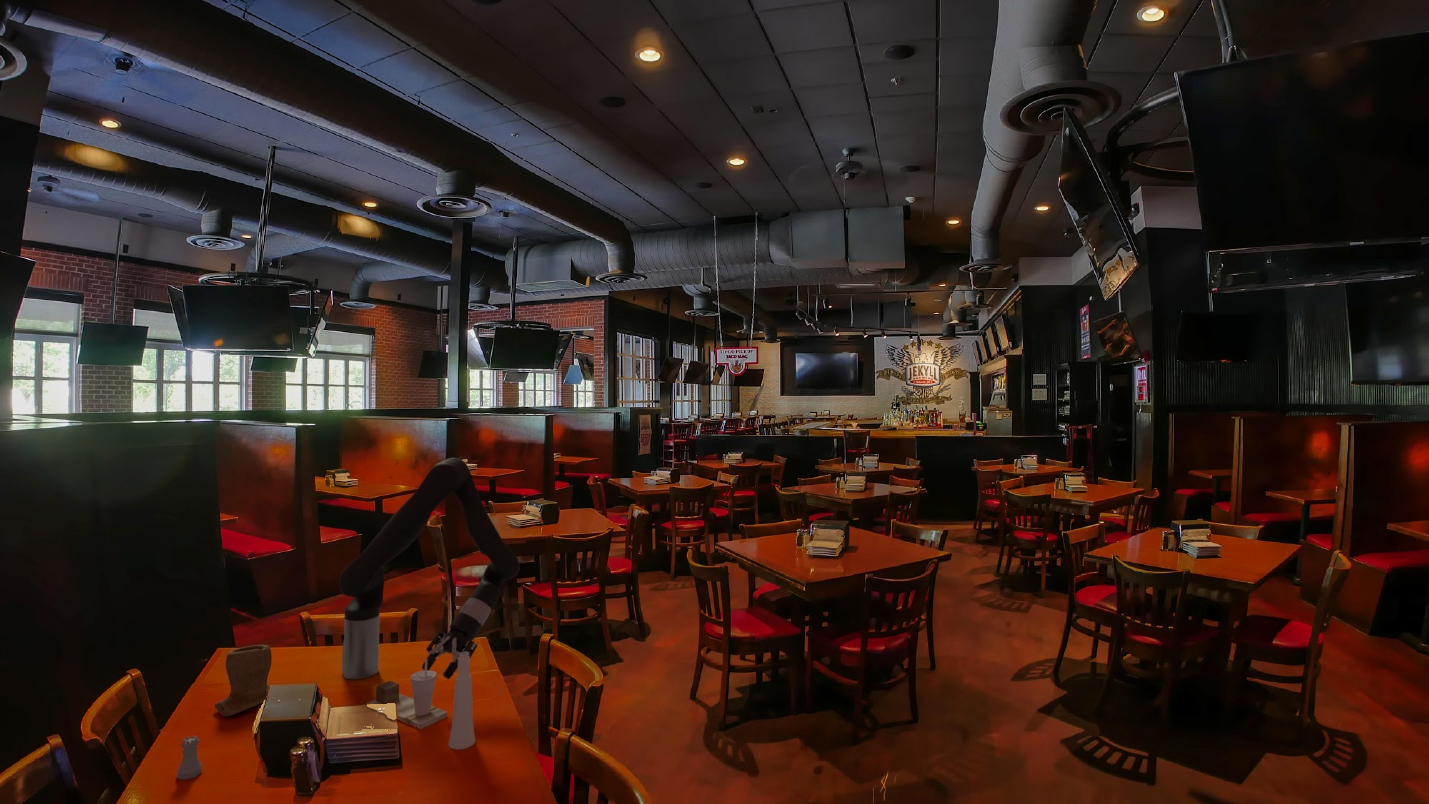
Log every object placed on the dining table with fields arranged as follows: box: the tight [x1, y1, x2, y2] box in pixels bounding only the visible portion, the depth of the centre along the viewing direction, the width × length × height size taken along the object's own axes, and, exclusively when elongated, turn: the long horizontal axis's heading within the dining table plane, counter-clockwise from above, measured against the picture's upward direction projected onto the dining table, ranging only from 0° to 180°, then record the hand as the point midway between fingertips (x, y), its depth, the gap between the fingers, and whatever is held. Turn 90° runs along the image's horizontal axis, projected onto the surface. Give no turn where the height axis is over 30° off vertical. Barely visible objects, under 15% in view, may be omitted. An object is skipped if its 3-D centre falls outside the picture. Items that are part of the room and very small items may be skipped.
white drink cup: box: [409, 658, 438, 716], centre depth 174 cm, size 6×6×14 cm
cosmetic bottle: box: [448, 652, 476, 751], centre depth 161 cm, size 6×6×22 cm
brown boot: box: [214, 644, 273, 717], centre depth 178 cm, size 15×12×15 cm
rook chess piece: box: [176, 735, 203, 781], centre depth 146 cm, size 4×4×8 cm
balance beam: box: [366, 680, 448, 730], centre depth 176 cm, size 22×10×5 cm, turn 61°
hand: (435, 673), depth 177 cm, fingers open, 8 cm apart
